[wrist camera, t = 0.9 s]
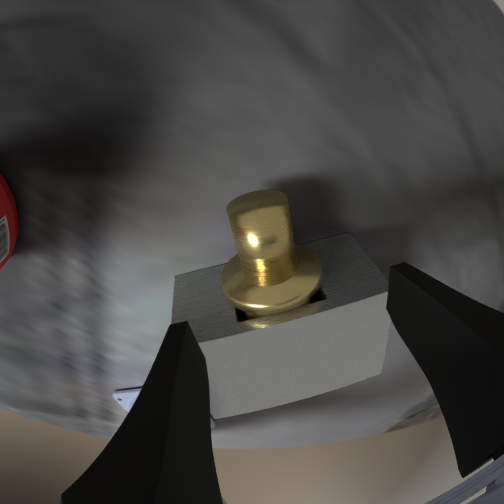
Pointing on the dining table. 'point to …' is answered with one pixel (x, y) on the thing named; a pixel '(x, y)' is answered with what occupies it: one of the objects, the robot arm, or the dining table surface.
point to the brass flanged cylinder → (268, 257)
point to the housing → (289, 333)
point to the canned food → (7, 222)
